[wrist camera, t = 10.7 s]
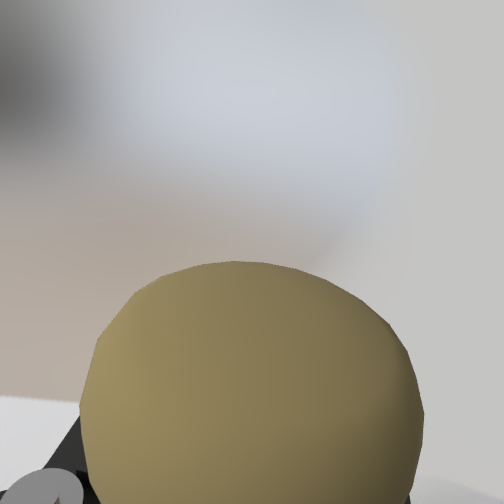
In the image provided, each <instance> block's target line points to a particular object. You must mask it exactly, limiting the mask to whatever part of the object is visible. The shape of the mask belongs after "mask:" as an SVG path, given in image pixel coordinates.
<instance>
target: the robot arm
mask: <svg viewBox="0 0 504 504" xmlns="http://www.w3.org/2000/svg"><path fill="white" fill-rule="evenodd" d="M0 504H101V503H100V501H99V499H98V497H97V495H96V493H95V491H94V489H93V487H92V485H91V483H90V480H89V475H88V469H87V463H86V457H85V452H84V446H83V440H82V434H81V421H80V416H79V417H78V419H77V420H76V422H75V423H74V425H73V426H72V427H71V429H70V430H69V432H68V433H67V435H66V436H65V438H64V439H63V441H62V442H61V444H60V445H59V446H58V448H57V449H56V451H55V452H54V454H53V455H52V457H51V458H50V460H49V461H48V462H47V464H46V465H45V466H44V468H43V469H41V470H37V471H34V472H32V473H30V474H27V475H25V476H24V477H22V478H21V479H19V480H18V481H16V482H15V483H14V484H13V485H12V486H11V487H10V488H9V489H8V490H5V491H1V492H0ZM404 504H411V503H410V496H409V495H408V497H407V499H406V501H405V503H404Z"/></svg>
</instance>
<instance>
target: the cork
mask: <svg viewBox="0 0 504 504" xmlns="http://www.w3.org/2000/svg"><path fill="white" fill-rule="evenodd" d="M79 408H80V421H81V434H82V440H83V446H84V452H85V457H86V463H87V469H88V475H89V480H90V483H91V485H92V487H93V489H94V491H95V493H96V495H97V497H98V499H99V501H100V503H101V504H404V503H405V501H406V499H407V497H408V495H409V493H410V491H411V489H412V486H413V482H414V477H415V473H416V469H417V464H418V460H419V456H420V452H421V447H422V439H423V423H424V411H423V406H422V401H421V397H420V392H419V389H418V383H417V379H416V375H415V372H414V370H413V367H412V364H411V361H410V358H409V355H408V352H407V350H406V349H405V347H404V346H403V344H402V343H401V341H400V340H399V338H398V337H397V335H396V334H395V332H394V331H393V329H392V328H391V326H390V325H389V324H388V323H387V322H386V321H385V320H384V319H383V318H381V317H380V316H379V315H378V314H377V313H376V312H374V311H373V310H372V309H371V308H370V307H369V306H368V305H366V304H365V303H364V302H363V301H362V300H360V299H358V298H357V297H355V296H354V295H352V294H350V293H349V292H347V291H345V290H343V289H341V288H340V287H338V286H336V285H334V284H332V283H330V282H329V281H327V280H325V279H322V278H319V277H317V276H314V275H311V274H308V273H305V272H303V271H300V270H297V269H293V268H288V267H283V266H278V265H273V264H268V263H258V262H240V261H231V262H221V263H212V264H203V265H199V266H194V267H191V268H188V269H184V270H181V271H178V272H174V273H171V274H168V275H165V276H162V277H160V278H158V279H157V280H155V281H153V282H152V283H150V284H148V285H147V286H145V287H143V288H142V289H140V290H138V291H137V292H135V293H134V294H133V296H132V297H131V298H130V299H129V301H128V302H127V303H126V304H125V306H124V307H123V308H122V309H121V310H120V311H119V313H118V314H117V315H116V316H115V318H114V319H113V320H112V322H111V323H110V324H109V325H108V327H107V328H106V329H105V330H104V332H103V333H102V334H101V335H100V337H99V338H98V340H97V343H96V347H95V350H94V354H93V357H92V361H91V364H90V368H89V371H88V375H87V379H86V383H85V386H84V390H83V394H82V397H81V401H80V405H79Z"/></svg>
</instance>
